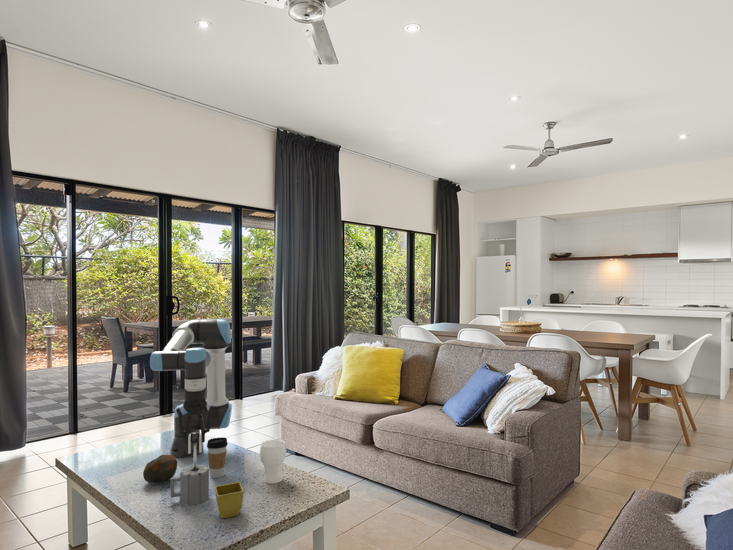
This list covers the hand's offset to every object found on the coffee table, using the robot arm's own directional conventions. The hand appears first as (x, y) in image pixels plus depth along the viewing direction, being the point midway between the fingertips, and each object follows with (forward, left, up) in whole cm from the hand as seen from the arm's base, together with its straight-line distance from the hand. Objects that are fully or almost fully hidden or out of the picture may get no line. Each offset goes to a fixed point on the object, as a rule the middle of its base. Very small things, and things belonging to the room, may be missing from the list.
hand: (194, 451), depth 175 cm
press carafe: (0, -2, -17) cm, 18 cm away
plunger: (0, 0, -10) cm, 10 cm away
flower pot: (+17, +12, -18) cm, 27 cm away
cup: (-8, +30, -18) cm, 36 cm away
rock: (-21, -14, -18) cm, 31 cm away
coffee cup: (-21, +8, -18) cm, 29 cm away
